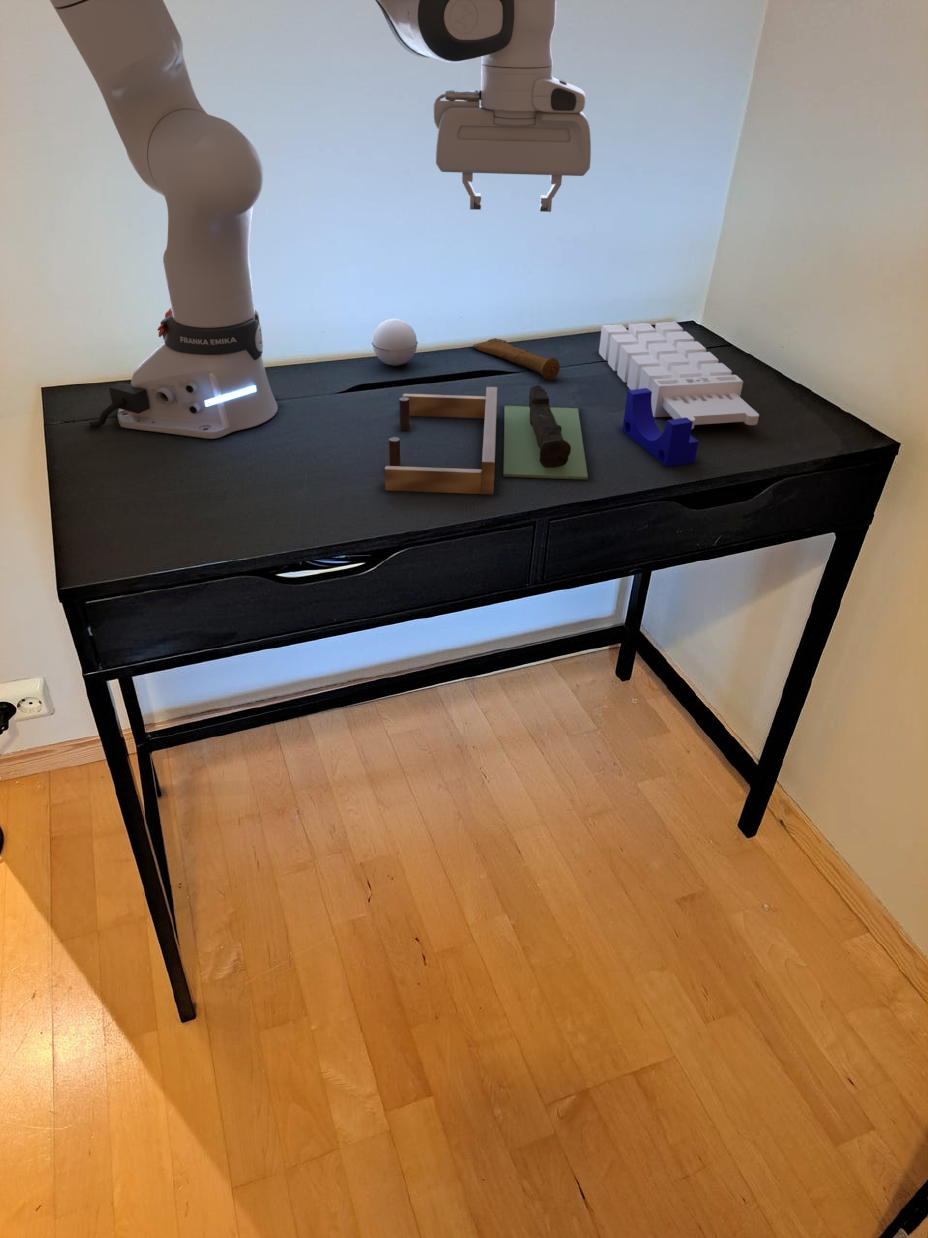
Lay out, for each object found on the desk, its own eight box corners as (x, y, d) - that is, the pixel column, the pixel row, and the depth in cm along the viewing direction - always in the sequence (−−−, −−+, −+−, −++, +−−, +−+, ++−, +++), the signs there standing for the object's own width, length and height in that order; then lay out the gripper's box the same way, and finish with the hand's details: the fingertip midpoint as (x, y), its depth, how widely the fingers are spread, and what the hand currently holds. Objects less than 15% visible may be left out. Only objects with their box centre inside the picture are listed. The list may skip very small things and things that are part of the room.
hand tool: (569, 469, 119) (572, 436, 116) (539, 469, 118) (541, 436, 116) (551, 410, 134) (554, 380, 131) (524, 410, 134) (526, 380, 131)
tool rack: (385, 490, 114) (384, 458, 111) (403, 412, 133) (403, 383, 130) (493, 494, 113) (494, 462, 111) (496, 415, 133) (497, 386, 130)
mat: (503, 476, 117) (503, 473, 117) (504, 407, 135) (504, 405, 135) (587, 479, 117) (587, 476, 117) (577, 410, 135) (578, 408, 134)
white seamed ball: (365, 360, 149) (363, 316, 145) (405, 353, 152) (404, 309, 148) (391, 381, 142) (389, 335, 138) (432, 373, 145) (432, 328, 141)
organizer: (675, 321, 154) (769, 403, 126) (670, 349, 156) (761, 435, 129) (601, 325, 151) (681, 409, 124) (598, 353, 154) (675, 441, 127)
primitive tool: (471, 347, 155) (472, 327, 153) (496, 341, 158) (497, 321, 156) (544, 383, 143) (546, 362, 141) (569, 376, 146) (572, 355, 144)
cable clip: (694, 461, 122) (702, 420, 118) (665, 466, 121) (672, 424, 117) (649, 425, 131) (655, 386, 127) (622, 430, 129) (627, 390, 126)
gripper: (431, 92, 111) (431, 212, 119) (597, 96, 110) (586, 217, 118) (435, 86, 116) (435, 202, 124) (594, 90, 115) (583, 206, 124)
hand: (510, 209), depth 121 cm, fingers open, 8 cm apart
